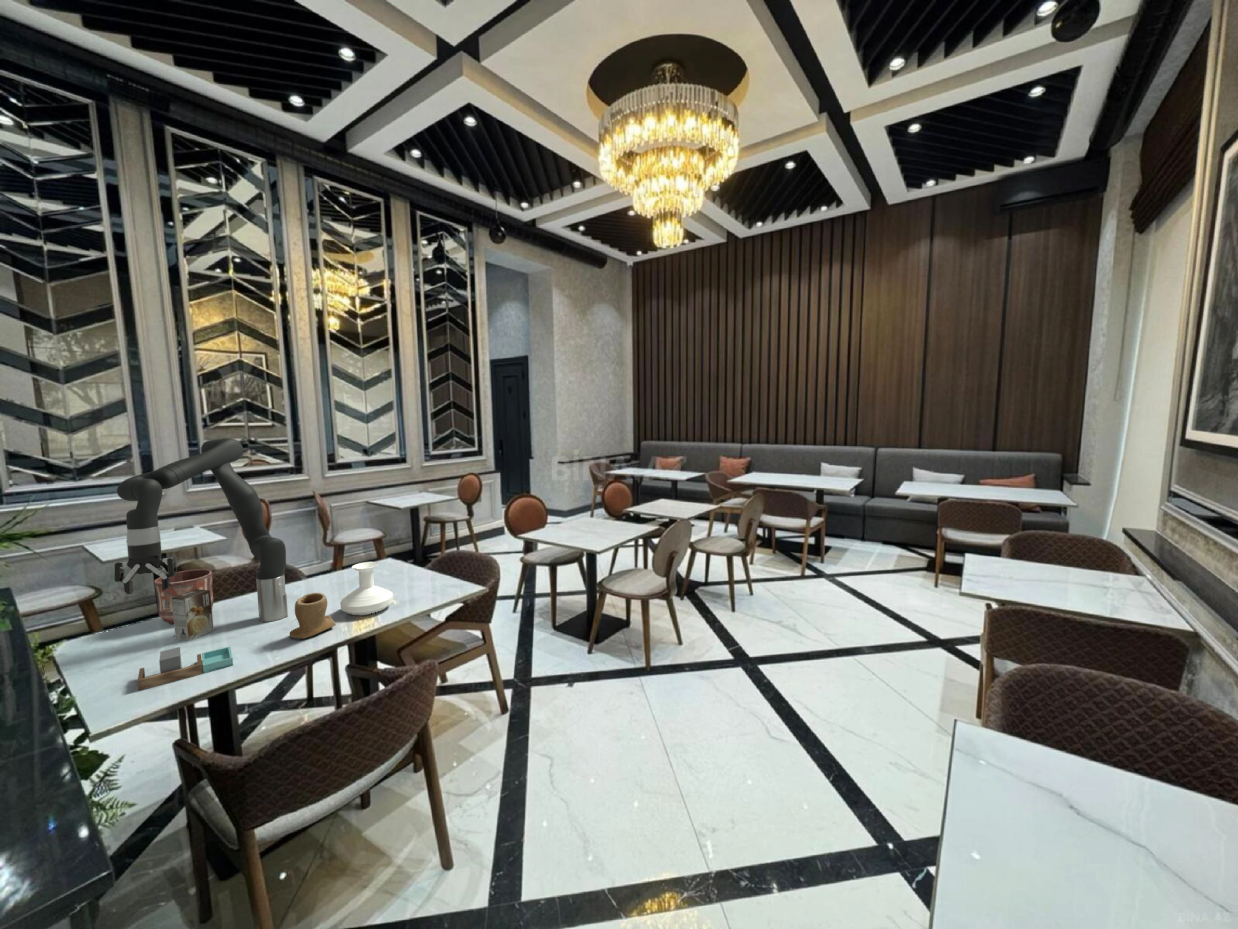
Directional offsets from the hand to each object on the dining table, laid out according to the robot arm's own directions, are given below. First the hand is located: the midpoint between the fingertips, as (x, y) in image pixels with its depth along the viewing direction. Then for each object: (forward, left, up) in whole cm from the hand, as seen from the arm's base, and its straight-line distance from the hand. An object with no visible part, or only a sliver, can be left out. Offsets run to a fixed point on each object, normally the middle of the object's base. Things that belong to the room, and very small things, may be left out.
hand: (148, 591), depth 152 cm
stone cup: (-44, +3, -26) cm, 51 cm away
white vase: (-65, -8, -26) cm, 70 cm away
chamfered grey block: (-4, +8, -26) cm, 27 cm away
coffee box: (-10, -25, -26) cm, 37 cm away
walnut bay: (-4, +8, -26) cm, 27 cm away
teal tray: (-15, +8, -26) cm, 31 cm away
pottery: (-8, -47, -26) cm, 54 cm away
